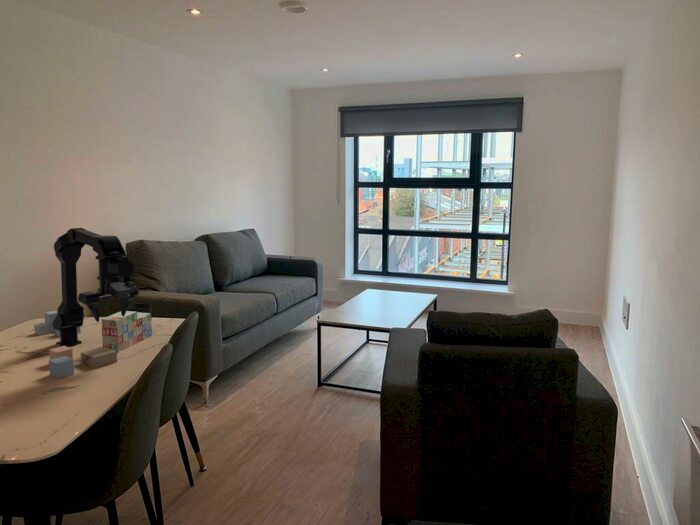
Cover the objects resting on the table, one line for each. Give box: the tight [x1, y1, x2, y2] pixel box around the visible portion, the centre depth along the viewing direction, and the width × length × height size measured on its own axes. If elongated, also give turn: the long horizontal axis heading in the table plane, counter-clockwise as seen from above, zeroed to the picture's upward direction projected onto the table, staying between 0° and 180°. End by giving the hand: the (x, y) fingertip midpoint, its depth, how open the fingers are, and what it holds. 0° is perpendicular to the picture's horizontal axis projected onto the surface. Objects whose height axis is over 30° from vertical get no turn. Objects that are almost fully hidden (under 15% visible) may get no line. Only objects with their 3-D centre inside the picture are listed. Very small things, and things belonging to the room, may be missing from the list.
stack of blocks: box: [101, 310, 153, 353], centre depth 195 cm, size 21×6×12 cm, turn 169°
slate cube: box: [48, 356, 75, 379], centre depth 164 cm, size 5×5×5 cm
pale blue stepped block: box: [33, 309, 82, 338], centre depth 205 cm, size 12×12×8 cm
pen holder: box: [126, 302, 152, 314], centre depth 213 cm, size 9×9×10 cm
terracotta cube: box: [48, 345, 74, 360], centre depth 173 cm, size 5×5×5 cm
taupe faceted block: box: [80, 346, 118, 369], centre depth 175 cm, size 8×8×4 cm
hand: (110, 318), depth 175 cm, fingers open, 9 cm apart
